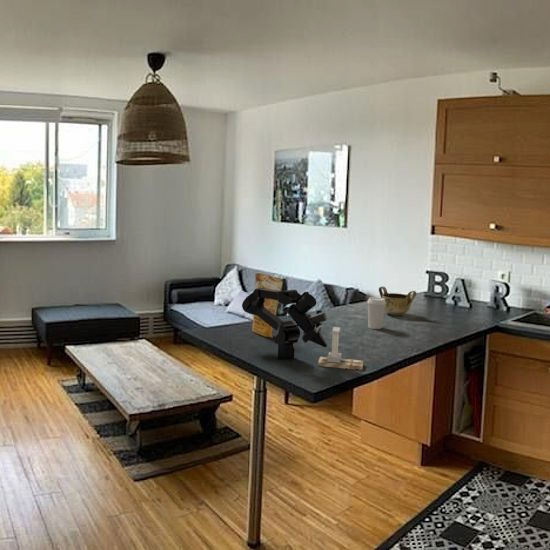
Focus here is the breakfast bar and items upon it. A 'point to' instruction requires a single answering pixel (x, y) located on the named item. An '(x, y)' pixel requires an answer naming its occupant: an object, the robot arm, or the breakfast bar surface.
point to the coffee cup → (375, 312)
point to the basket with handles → (396, 301)
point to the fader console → (342, 363)
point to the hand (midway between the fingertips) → (326, 346)
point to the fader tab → (334, 347)
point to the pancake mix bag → (266, 302)
